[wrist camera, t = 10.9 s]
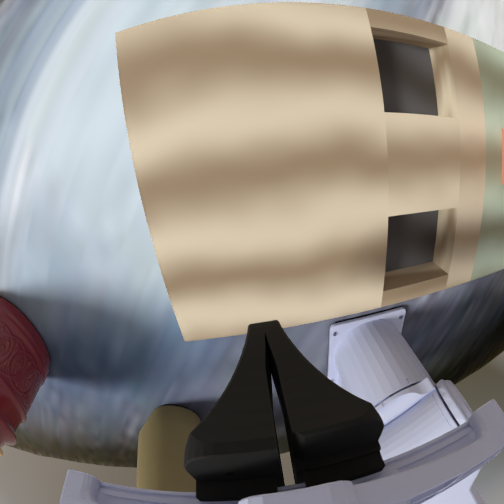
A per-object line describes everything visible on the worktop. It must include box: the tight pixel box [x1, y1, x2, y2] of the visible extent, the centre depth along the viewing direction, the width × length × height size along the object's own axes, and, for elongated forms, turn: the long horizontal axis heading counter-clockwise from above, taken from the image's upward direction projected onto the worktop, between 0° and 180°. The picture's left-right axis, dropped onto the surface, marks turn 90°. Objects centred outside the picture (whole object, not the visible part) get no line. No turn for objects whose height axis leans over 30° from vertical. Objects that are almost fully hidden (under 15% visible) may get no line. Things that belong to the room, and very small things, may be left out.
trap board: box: [115, 2, 504, 341], centre depth 17 cm, size 22×37×4 cm, turn 98°
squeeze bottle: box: [137, 405, 201, 492], centre depth 21 cm, size 8×8×18 cm
